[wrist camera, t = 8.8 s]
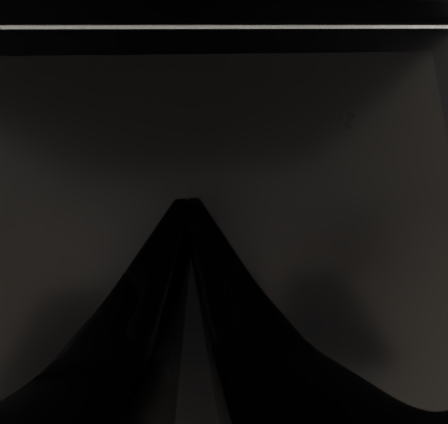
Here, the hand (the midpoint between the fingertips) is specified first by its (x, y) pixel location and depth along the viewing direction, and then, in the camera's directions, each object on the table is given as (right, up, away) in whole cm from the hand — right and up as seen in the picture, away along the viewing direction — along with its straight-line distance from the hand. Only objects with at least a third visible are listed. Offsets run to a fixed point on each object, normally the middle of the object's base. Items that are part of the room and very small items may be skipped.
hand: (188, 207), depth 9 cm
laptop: (0, +9, -7) cm, 12 cm away
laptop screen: (0, -1, 0) cm, 1 cm away
